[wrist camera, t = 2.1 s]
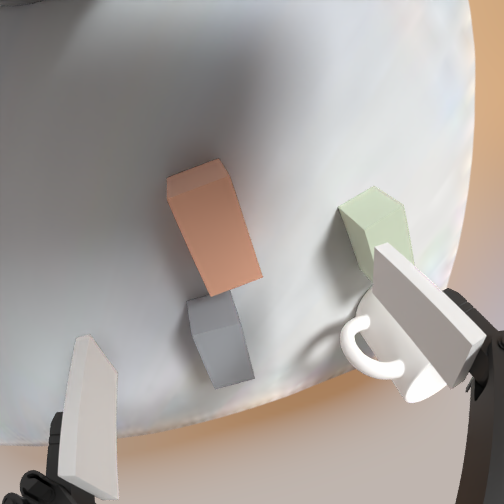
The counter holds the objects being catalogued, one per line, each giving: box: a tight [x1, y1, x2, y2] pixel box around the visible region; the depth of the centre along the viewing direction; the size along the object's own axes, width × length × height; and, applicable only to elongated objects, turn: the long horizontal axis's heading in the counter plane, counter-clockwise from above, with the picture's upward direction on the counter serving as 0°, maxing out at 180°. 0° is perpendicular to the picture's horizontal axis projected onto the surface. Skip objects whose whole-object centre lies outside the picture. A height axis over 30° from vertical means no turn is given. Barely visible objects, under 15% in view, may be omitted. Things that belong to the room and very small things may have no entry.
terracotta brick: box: [167, 158, 263, 297], centre depth 20 cm, size 7×4×4 cm, turn 17°
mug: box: [340, 286, 447, 403], centre depth 26 cm, size 12×8×10 cm
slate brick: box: [187, 290, 255, 389], centre depth 25 cm, size 7×4×4 cm, turn 10°
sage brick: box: [338, 186, 415, 283], centre depth 24 cm, size 7×4×4 cm, turn 28°
